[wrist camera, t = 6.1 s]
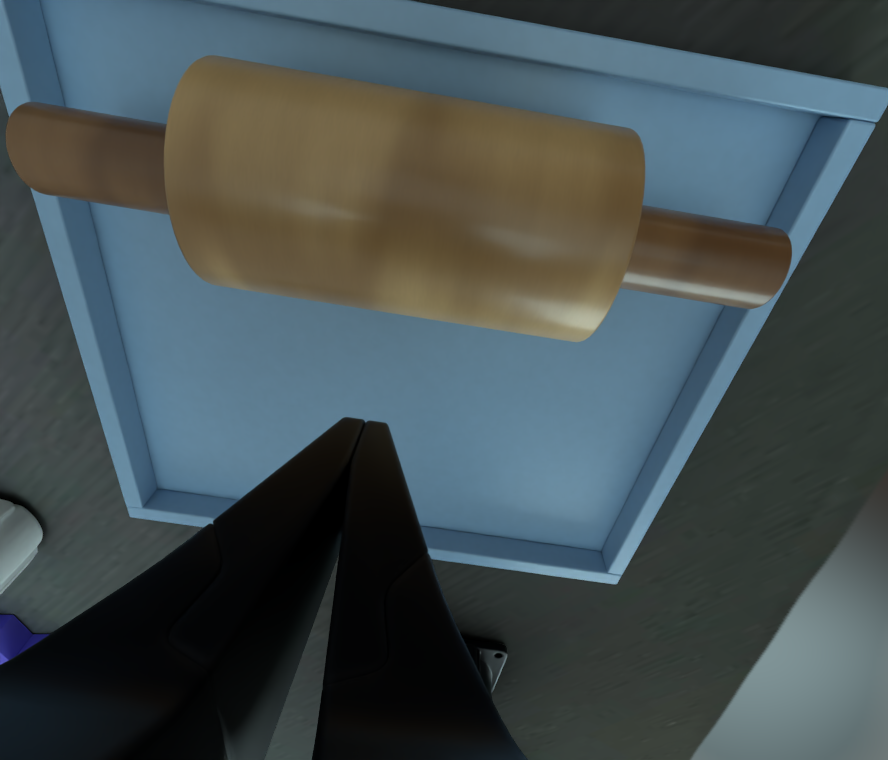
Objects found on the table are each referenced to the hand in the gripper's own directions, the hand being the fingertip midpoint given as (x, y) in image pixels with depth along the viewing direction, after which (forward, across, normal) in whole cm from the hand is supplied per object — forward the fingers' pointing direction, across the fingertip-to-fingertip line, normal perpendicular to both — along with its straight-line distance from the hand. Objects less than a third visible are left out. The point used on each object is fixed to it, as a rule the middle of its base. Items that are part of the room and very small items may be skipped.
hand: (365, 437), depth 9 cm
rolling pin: (+8, 0, -3) cm, 9 cm away
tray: (+8, 0, +2) cm, 8 cm away
